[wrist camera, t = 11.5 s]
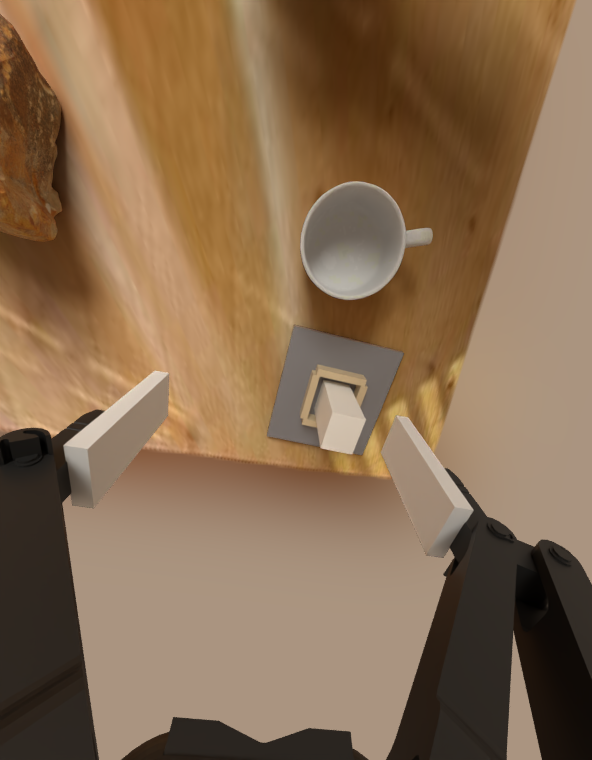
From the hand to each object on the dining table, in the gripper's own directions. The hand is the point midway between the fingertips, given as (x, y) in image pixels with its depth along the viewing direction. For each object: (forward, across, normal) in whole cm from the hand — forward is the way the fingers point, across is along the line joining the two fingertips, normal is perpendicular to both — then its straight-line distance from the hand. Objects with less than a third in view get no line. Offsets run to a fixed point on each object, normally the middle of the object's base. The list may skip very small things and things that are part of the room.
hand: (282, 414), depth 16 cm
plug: (+24, +8, -9) cm, 27 cm away
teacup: (+25, +6, +11) cm, 28 cm away
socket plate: (+24, +8, -9) cm, 28 cm away
